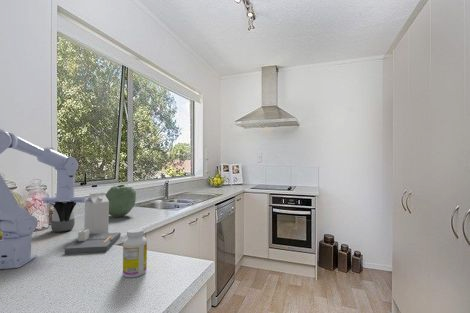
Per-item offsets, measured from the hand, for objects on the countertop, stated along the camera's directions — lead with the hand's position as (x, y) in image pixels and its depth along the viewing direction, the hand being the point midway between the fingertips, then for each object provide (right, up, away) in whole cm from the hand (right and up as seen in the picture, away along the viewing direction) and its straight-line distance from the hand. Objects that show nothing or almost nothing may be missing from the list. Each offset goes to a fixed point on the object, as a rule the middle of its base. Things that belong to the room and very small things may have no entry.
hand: (64, 221), depth 93 cm
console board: (+11, -10, +2) cm, 15 cm away
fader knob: (+7, -8, +1) cm, 10 cm away
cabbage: (-4, -12, +52) cm, 53 cm away
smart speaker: (-16, -11, +21) cm, 28 cm away
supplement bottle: (+37, -10, -22) cm, 45 cm away
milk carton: (+3, -11, +16) cm, 19 cm away
